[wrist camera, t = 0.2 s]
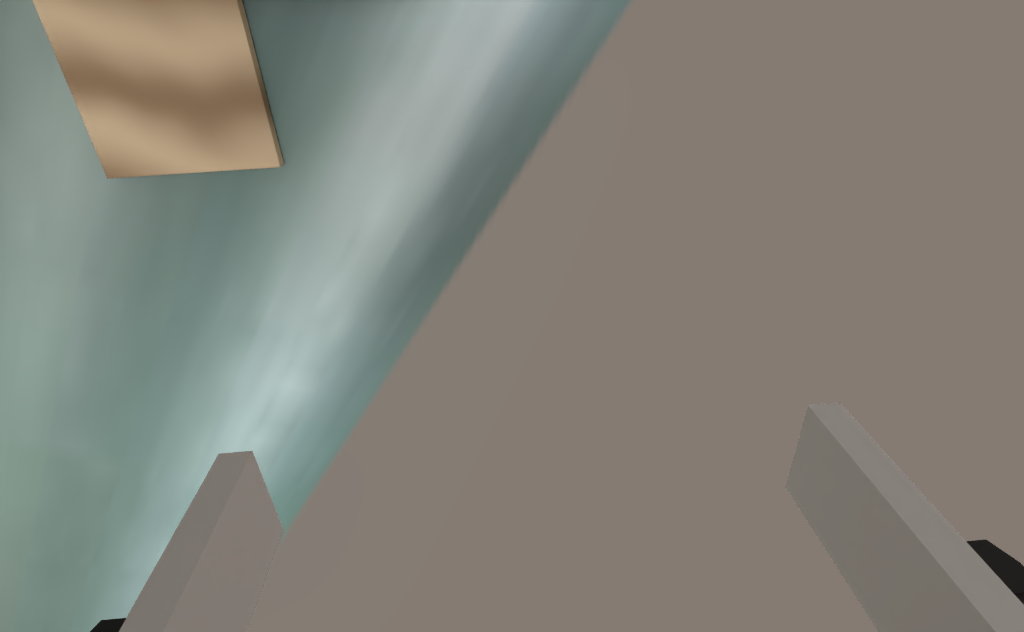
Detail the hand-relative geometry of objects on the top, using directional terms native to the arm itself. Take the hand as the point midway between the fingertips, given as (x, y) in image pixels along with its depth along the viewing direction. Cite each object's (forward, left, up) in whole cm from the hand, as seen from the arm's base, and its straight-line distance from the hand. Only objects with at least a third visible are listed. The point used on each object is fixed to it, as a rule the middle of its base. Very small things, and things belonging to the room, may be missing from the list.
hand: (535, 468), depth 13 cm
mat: (-6, -19, -28) cm, 34 cm away
